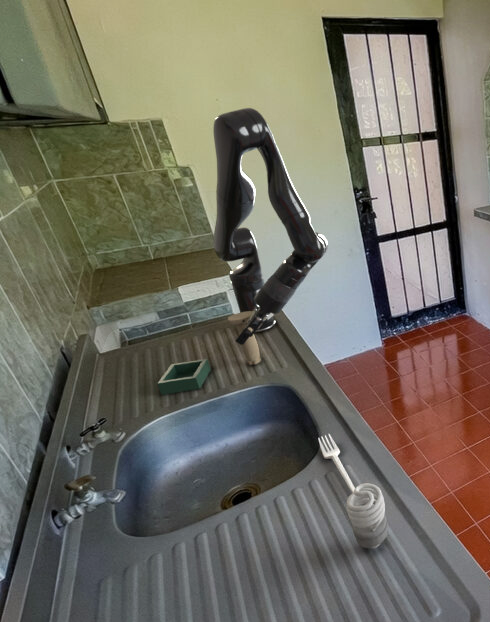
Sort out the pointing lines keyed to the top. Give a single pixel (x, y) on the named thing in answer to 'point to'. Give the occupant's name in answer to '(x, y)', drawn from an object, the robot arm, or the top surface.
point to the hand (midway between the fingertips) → (242, 335)
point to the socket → (184, 376)
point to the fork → (335, 459)
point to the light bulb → (368, 515)
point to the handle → (251, 344)
